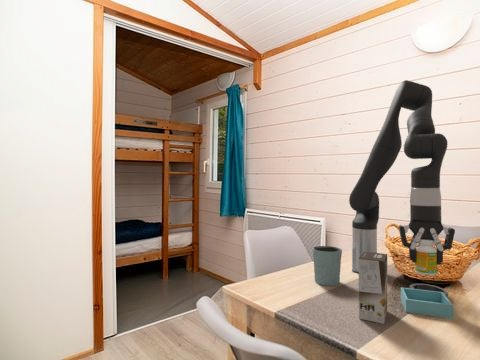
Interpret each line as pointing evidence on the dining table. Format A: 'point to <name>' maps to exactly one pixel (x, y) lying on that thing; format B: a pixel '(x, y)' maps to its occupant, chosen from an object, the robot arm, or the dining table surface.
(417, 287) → the holder
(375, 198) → the robot arm
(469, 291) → the dining table surface
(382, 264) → the coffee box
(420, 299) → the tray
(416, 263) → the supplement bottle
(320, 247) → the teal cup
